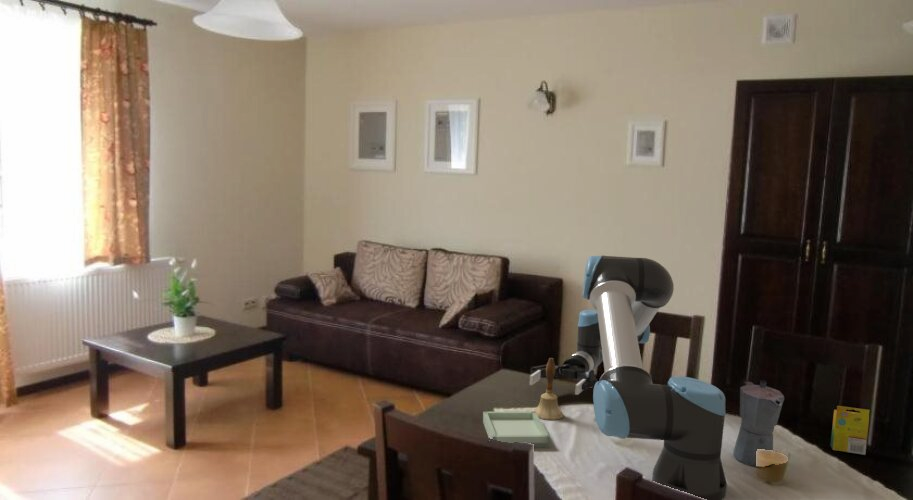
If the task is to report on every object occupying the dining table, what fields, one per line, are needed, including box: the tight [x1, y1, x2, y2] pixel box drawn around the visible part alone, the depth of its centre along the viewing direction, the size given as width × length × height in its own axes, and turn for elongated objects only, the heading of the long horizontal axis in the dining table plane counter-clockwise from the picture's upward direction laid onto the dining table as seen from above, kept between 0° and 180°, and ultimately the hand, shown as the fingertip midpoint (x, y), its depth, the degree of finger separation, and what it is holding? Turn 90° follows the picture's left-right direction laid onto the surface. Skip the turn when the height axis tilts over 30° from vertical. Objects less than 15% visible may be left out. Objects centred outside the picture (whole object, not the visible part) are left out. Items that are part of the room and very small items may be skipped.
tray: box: [482, 411, 550, 449], centre depth 164 cm, size 16×14×3 cm
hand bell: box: [533, 357, 564, 421], centre depth 177 cm, size 8×8×16 cm
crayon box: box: [830, 405, 871, 456], centre depth 161 cm, size 7×3×12 cm, turn 70°
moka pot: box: [732, 377, 785, 468], centre depth 154 cm, size 10×15×20 cm, turn 15°
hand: (553, 385), depth 181 cm, fingers open, 13 cm apart
